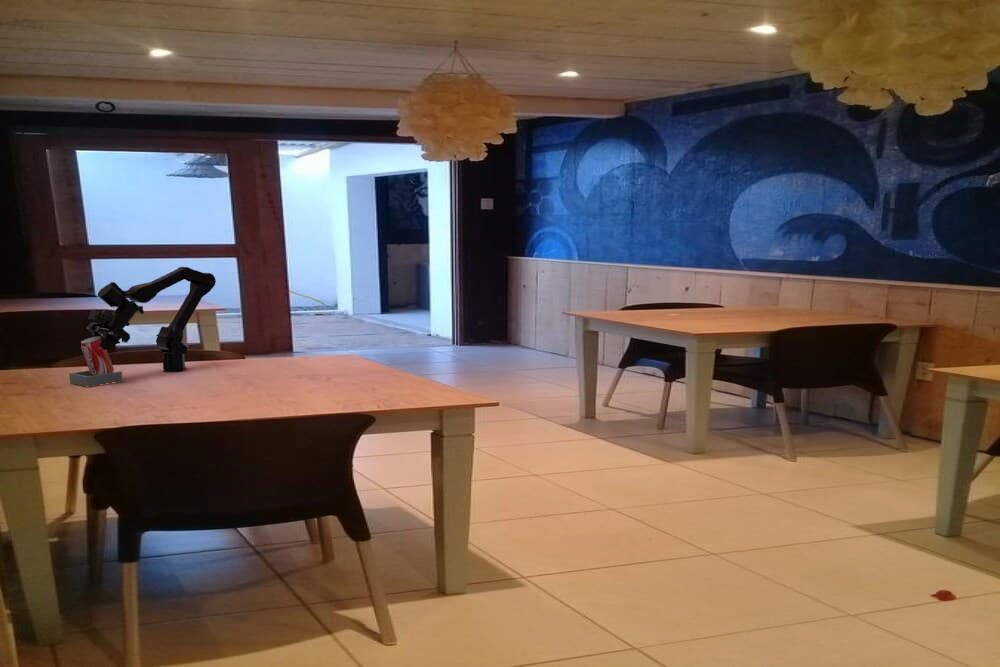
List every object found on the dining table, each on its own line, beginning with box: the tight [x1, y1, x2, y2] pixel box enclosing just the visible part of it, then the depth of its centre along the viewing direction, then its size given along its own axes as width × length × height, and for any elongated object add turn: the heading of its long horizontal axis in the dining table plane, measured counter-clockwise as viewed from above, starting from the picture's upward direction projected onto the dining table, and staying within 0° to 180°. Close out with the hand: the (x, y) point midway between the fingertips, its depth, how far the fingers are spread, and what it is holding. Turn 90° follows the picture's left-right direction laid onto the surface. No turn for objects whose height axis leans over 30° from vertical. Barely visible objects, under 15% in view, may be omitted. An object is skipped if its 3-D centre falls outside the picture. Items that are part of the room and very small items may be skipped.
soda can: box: [80, 336, 115, 376], centre depth 257 cm, size 7×7×13 cm
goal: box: [69, 370, 123, 387], centre depth 257 cm, size 12×12×3 cm
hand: (91, 352), depth 255 cm, fingers closed on soda can, 4 cm apart
